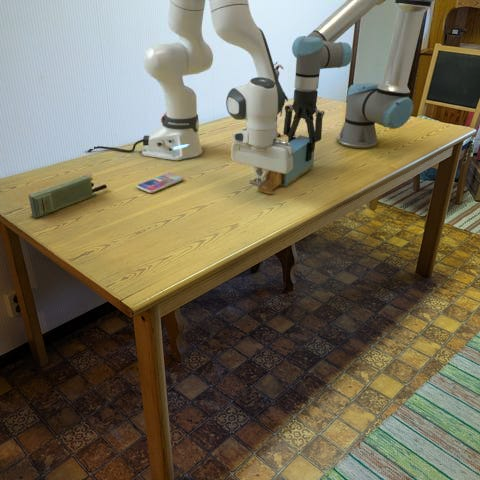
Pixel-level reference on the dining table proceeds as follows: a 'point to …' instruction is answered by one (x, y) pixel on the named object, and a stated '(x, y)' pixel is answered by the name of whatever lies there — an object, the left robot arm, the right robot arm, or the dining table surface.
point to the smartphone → (159, 182)
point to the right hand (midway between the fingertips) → (300, 158)
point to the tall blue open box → (298, 160)
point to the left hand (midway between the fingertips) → (261, 180)
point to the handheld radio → (62, 195)
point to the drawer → (269, 181)
